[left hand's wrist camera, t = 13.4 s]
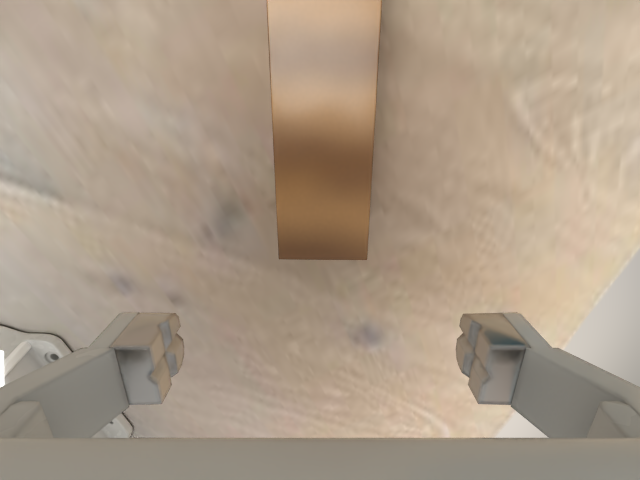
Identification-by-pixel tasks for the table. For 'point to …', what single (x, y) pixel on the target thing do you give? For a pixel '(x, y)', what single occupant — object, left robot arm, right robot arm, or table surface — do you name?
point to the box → (323, 123)
